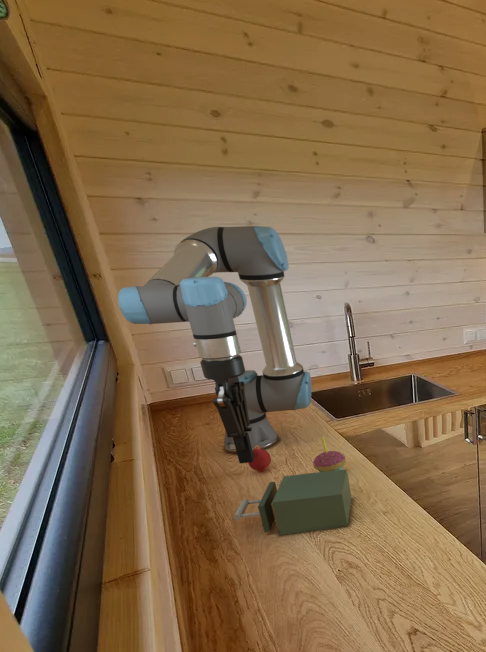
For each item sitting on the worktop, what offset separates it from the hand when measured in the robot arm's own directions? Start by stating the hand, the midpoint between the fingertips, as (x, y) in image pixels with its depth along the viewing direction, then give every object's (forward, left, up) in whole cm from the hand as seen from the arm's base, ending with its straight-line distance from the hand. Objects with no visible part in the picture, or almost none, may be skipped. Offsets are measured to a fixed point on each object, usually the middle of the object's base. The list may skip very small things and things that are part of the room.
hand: (247, 461), depth 108 cm
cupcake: (-21, +13, -16) cm, 30 cm away
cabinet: (0, +12, -16) cm, 20 cm away
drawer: (0, +5, -15) cm, 16 cm away
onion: (-29, -7, -16) cm, 34 cm away
